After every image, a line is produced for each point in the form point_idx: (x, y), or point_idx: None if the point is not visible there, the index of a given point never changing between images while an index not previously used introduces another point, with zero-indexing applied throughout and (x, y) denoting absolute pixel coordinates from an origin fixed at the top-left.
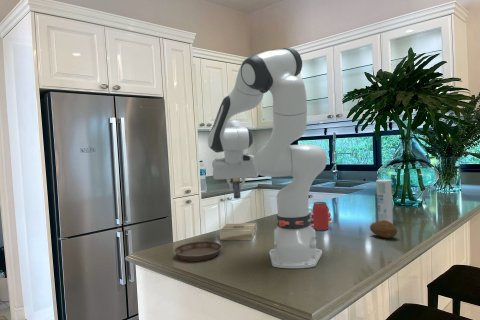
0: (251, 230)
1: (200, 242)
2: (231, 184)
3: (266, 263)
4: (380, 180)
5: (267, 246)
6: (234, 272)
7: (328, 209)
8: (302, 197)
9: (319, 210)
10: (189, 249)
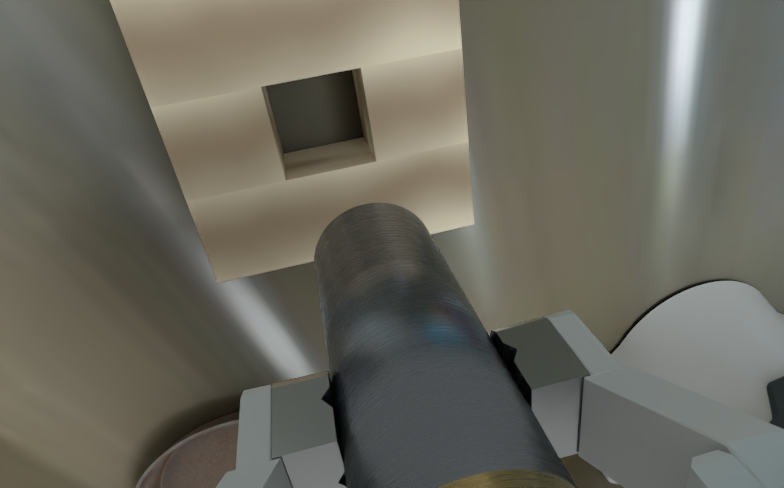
0: (473, 221)
1: (200, 433)
2: (280, 476)
3: (579, 458)
4: None
5: (564, 290)
6: None
7: None
8: None
9: None
10: (167, 458)
